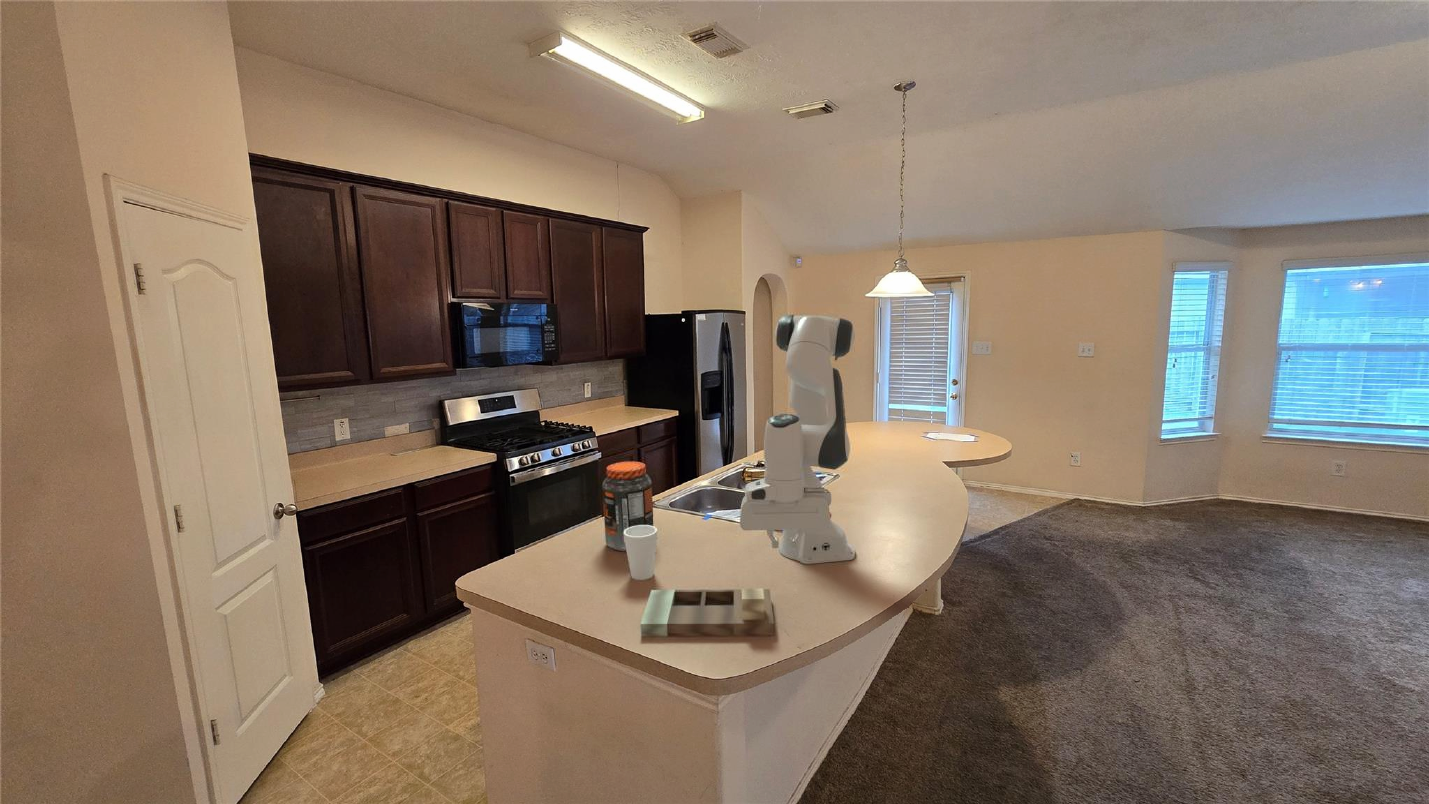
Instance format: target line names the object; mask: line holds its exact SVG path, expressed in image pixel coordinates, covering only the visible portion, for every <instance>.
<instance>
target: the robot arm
mask: <svg viewBox="0 0 1429 804" xmlns="http://www.w3.org/2000/svg"><path fill="white" fill-rule="evenodd" d="M774 329H775V330H774V338H775V342H776V346H777V347H778V348H779V350H782V351H785V352H786V357H785V370H786V374H788V376H789V378H790V379H791V380H790V381H791V382H790V388H789V389H790V390H789V396H788V397H789V398H788V404H789V406H790V408H791V409H792V410H793V411H794V413H795V414H790V413H780V414H776V415H773V416H770V417H769V418H768V419H767V420H766V424H765V429H764V437H763V459H764V461H765V469H764V474H763V478H760V479H756V480H753V481H751V482H748V483H746V485H745V486H744V487H745V488H744V496H743V498H742V500H741V504H740V510H739V511H740V514H739V517H740V518H739V526H740V528H741V530H743V531H766V535H767V536H768V539H770V541H771V548H772V549H779V552H780V554H781V555H782V556H784V557H786V558H788V559H790V560H794V561H797V562H799V563H801V564H804V565H812V564H821V563H832V562H842V561H843V562H844V561H850V560H851V561H852V560H854V559H855V556H856V551H855V548H854V546H853V544H851V543H850V542H849V541H848V540H847V536H846V533H845V532H844V530H843V528H842V527H841V526H839V524H837V523H835V521H833V520H832V519H831V518H832V516H833V515H832V513H831V512H830V505H831V504H832V493H831V492H830V491H829V490H828V489H825V487H822V482H821V480H820V479H819V477H818V476H817V475H816V473H815V472H814V470H813V469H812V467H814V468H815V467H817V468H821V469H827V470H833V471H834V470H837V469H839V468H841V467H842V466H843V465H845V464H846V463H847V462H848V460H849V457H850V452H851V443H850V442H851V441H850V439H849V435H848V434H849V433H848V431H847V424H846V411H845V410H846V409H845V400H844V399H845V398H844V390H843V382H842V378H841V377H842V376H841V374H840V372H839V370H838V369H837V368H835V367H834V366H832V364H831V356H833V357H834V361H837V360H838V359H839V358H841V357H845V356H846V355H847V354H849V352H850V350H851V349H852V348H853V346H854V343H855V339H856V338H855V337H856V335H855V330H854V326H853V323H852V321H850V320H848V319H845V318H841V317H839V318H835V317H831V316H825V315H818V314H817V315H794V314H787V315H783V316H781V318H780V319H779V320H778V322H777V324H776V327H775V328H774ZM774 531H782V532H783V533H782V538H781V542H779V541H780V540H779V538H777V537H776V538H775V537H774ZM779 543H780V546H779Z"/></svg>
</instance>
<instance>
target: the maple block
mask: <svg viewBox="0 0 1429 804" xmlns="http://www.w3.org/2000/svg"><path fill="white" fill-rule="evenodd" d="M741 589H742V620H765V618H764V592H763V589H764V588H763V587H762V588H756V587H755V588H741Z"/></svg>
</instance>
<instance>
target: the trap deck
mask: <svg viewBox="0 0 1429 804" xmlns="http://www.w3.org/2000/svg"><path fill="white" fill-rule="evenodd" d="M742 589H743V588H741V589H740V588H739V589H734V588H733V589H730V588H729V589H728V588H727V589H725V588H723V589H651V590H650V594H649V596H648V600H647V603H646V605H645V609H644V612H643V615H642V618H641V622H640V637H768V636H767V635H770V636H769V637H773V636H772V635H774V636H775V622H774V614H773V606H772V598H771V589H770V588H763V592H764V618H765V620H742ZM763 635H765V636H763Z"/></svg>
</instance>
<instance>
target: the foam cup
mask: <svg viewBox="0 0 1429 804" xmlns="http://www.w3.org/2000/svg"><path fill="white" fill-rule="evenodd" d="M657 541H658V527H655V526H654V525H653V526H650V525H637V526H632V527H629V528H627V529H626V530H624V542H625V546H626V551H625V552H626V556H627V561H628V567H629V570H630V571H629V573H630V575H631V578H632V579H633V580H636V581H644V580H648V579H650V578H652V577H653V576H654V575H655V574H654V573H655V563H656V553H657V552H656V551H657Z"/></svg>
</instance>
